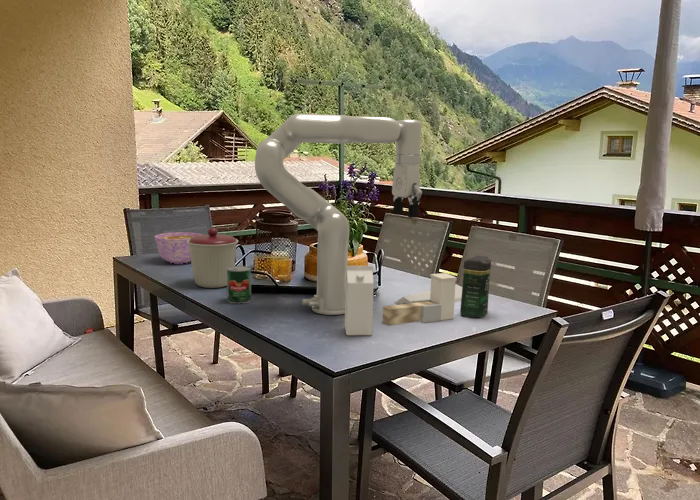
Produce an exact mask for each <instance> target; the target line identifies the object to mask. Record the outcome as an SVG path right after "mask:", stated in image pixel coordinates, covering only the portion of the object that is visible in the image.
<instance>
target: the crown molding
mask: <svg viewBox="0 0 700 500" xmlns="http://www.w3.org/2000/svg"><path fill="white" fill-rule="evenodd" d="M430 291H431V289H430V290H426V291H421V292H418V293H414V294H410V295H409V294H408V295H405V296H401V298H399V299H398V300H396V301H395V302H394V305H400V304H409V303H412V300H422V299H430ZM461 297H462V286H461V285H459V284H458V283H455V300H454V303H457V302H461Z"/></svg>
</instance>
